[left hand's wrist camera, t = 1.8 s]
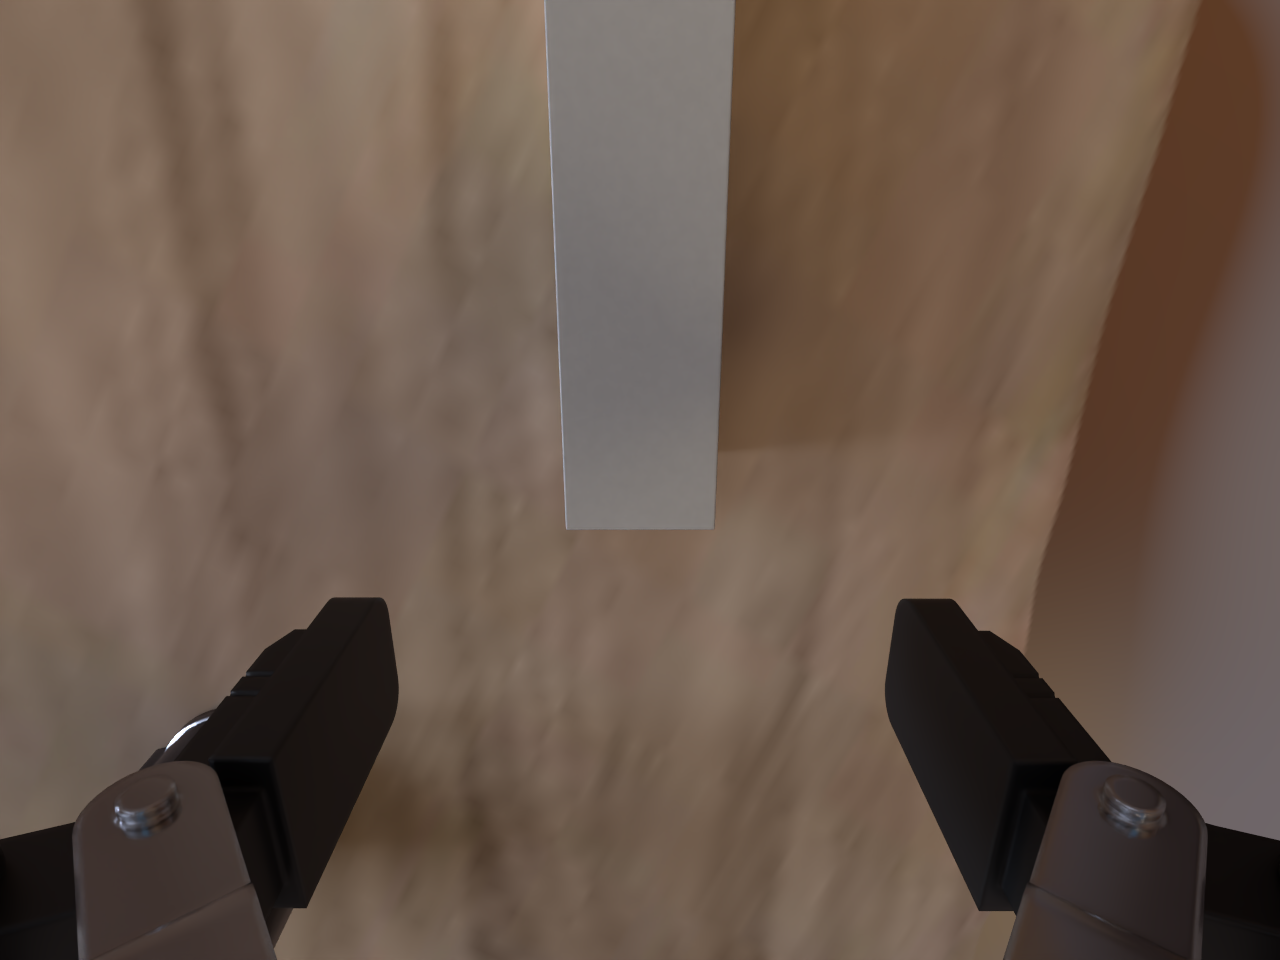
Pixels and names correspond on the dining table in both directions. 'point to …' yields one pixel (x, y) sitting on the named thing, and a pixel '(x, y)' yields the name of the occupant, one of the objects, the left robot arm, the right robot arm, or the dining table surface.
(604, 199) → the bar
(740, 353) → the dining table surface
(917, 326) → the dining table surface
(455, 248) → the dining table surface
